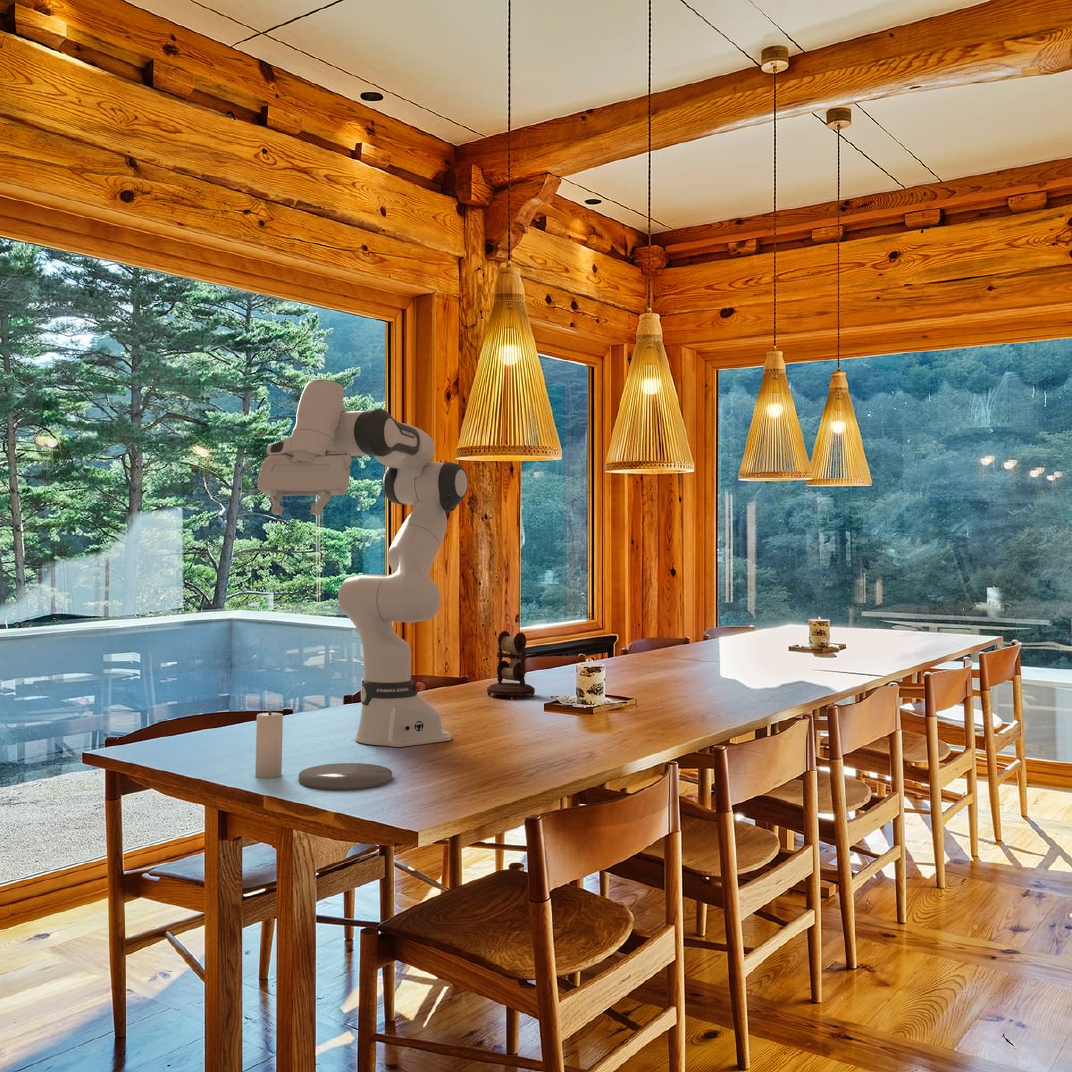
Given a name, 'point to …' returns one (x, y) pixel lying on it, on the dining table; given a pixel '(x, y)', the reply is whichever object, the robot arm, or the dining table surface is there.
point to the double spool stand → (517, 666)
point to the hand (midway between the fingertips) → (295, 514)
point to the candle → (269, 745)
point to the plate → (345, 776)
